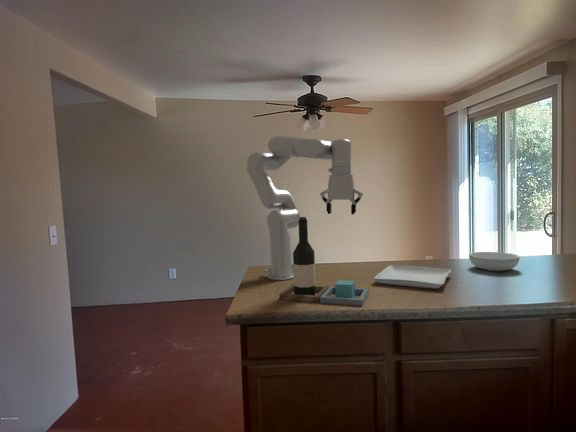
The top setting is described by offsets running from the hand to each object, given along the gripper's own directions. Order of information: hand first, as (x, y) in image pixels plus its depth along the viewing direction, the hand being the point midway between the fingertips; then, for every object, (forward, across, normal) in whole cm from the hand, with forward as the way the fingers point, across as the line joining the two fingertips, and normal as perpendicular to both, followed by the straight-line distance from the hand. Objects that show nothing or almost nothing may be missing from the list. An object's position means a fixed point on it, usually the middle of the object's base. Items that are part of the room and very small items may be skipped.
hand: (341, 213), depth 149 cm
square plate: (+30, +27, +18) cm, 45 cm away
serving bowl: (+29, +61, +50) cm, 84 cm away
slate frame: (+30, +6, -15) cm, 34 cm away
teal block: (+30, +6, -15) cm, 34 cm away
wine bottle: (+30, -10, -16) cm, 36 cm away
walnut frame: (+30, -10, -16) cm, 35 cm away
